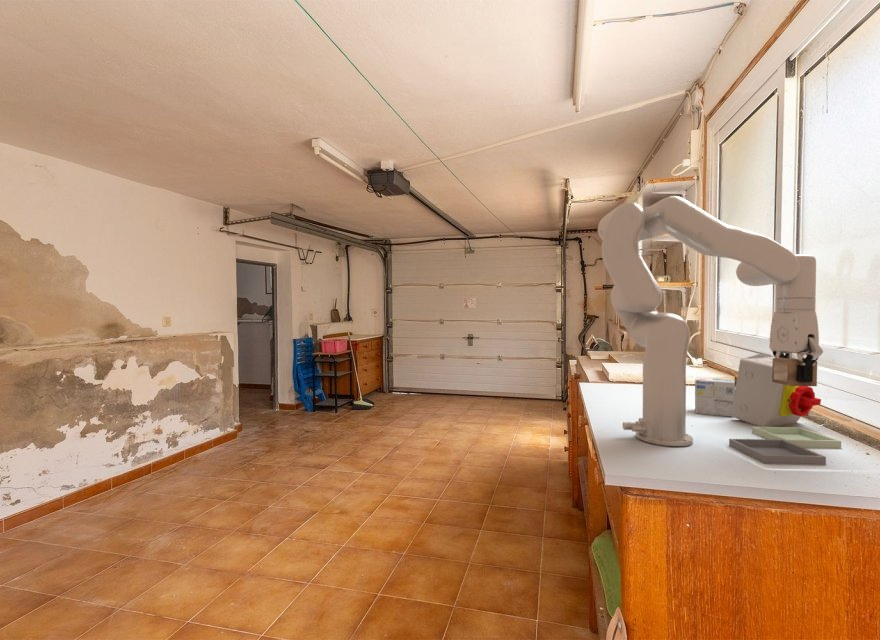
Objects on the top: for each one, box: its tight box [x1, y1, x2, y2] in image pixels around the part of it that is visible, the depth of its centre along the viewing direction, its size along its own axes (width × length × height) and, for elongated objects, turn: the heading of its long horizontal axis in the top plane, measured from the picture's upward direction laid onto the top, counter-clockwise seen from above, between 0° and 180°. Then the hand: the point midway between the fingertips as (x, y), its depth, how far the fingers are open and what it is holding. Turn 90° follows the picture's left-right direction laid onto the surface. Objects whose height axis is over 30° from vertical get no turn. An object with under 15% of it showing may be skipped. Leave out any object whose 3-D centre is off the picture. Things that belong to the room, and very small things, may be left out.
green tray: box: [751, 426, 842, 449], centre depth 105 cm, size 12×12×2 cm
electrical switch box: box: [731, 353, 822, 427], centre depth 119 cm, size 15×15×20 cm
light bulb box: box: [694, 377, 736, 418], centre depth 135 cm, size 11×7×11 cm, turn 58°
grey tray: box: [728, 438, 827, 466], centre depth 94 cm, size 12×12×2 cm
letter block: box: [772, 357, 818, 387], centre depth 104 cm, size 6×6×6 cm
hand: (793, 379), depth 104 cm, fingers closed on letter block, 6 cm apart
